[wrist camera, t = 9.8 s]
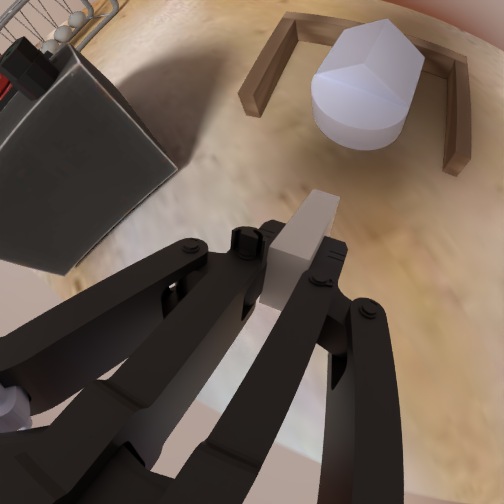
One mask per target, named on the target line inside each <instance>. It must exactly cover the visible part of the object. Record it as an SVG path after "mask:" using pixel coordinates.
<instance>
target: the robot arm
mask: <svg viewBox="0 0 504 504" xmlns="http://www.w3.org/2000/svg"><path fill="white" fill-rule="evenodd" d="M339 200H340V197H339V196H336V195H333V194H329V193H326V192H323V191H320V190H316V189H313V190H312V191H311V193H310V194H309V195H308V197H307V198H306V199H305V201H304V202H303V203H302V204H301V206H300V207H299V208H298V210H297V211H296V212H295V214H294V215H293V216H292V218H291V219H290V220H289V221H288V223H287V224H285V223H282V222H279V221H276V220H270V221H267V222H265V223H264V224H263V225H262V226H261V227H260V228H259V229H257V228H254V227H246V226H242V227H238V228H235V229H233V230H232V237H231V247H230V250H229V251H228V252H227V253H216V252H208V245H207V244H206V243H205V242H204V241H202V240H200V239H196V238H185V239H182V240H179V241H177V242H175V243H173V244H171V245H169V246H167V247H165V248H163V249H161V250H159V251H157V252H155V253H154V254H152V255H150V256H148V257H146V258H144V259H142V260H140V261H138V262H136V263H134V264H132V265H130V266H129V267H127V268H125V269H123V270H121V271H119V272H117V273H115V274H113V275H112V276H110V277H108V278H106V279H104V280H102V281H100V282H99V283H97V284H95V285H93V286H91V287H89V288H88V289H86V290H84V291H82V292H80V293H78V294H77V295H75V296H73V297H71V298H69V299H68V300H66V301H64V302H62V303H61V304H59V305H57V306H55V307H54V308H52V309H50V310H48V311H47V312H45V313H43V314H42V315H40V316H38V317H36V318H34V319H33V320H31V321H29V322H28V323H26V324H24V325H22V326H21V327H19V328H17V329H16V330H14V331H12V332H11V333H9V334H8V335H6V336H4V337H0V504H242V503H243V501H244V499H245V498H246V496H247V494H248V492H249V490H250V488H251V487H252V485H253V483H254V481H255V479H256V477H257V475H258V472H259V471H260V469H261V466H262V464H263V462H264V460H265V458H266V456H267V454H268V452H269V450H270V448H271V446H272V444H273V442H274V440H275V438H276V436H277V434H278V431H279V429H280V427H281V425H282V423H283V421H284V419H285V416H286V414H287V412H288V410H289V407H290V405H291V403H292V401H293V398H294V396H295V394H296V391H297V389H298V387H299V384H300V382H301V380H302V377H303V375H304V372H305V370H306V367H307V365H308V363H309V360H310V358H311V355H312V352H313V350H314V347H315V345H316V343H317V344H318V345H320V346H321V347H323V348H324V349H326V350H327V351H328V352H329V353H328V371H327V396H326V414H325V429H324V442H323V454H322V465H321V475H320V484H319V492H318V501H317V504H404V469H403V445H402V430H401V417H400V406H399V397H398V388H397V380H396V372H395V365H394V358H393V352H392V346H391V339H390V334H389V328H388V323H387V317H386V313H385V311H384V308H383V307H382V306H381V305H380V304H379V303H377V302H376V301H374V300H372V299H369V298H357V299H354V300H353V301H352V300H350V299H348V298H347V297H346V296H344V295H343V294H342V292H341V291H340V289H339V288H338V279H339V276H340V273H341V270H342V267H343V264H344V261H345V258H346V254H347V251H348V248H347V246H346V243H345V242H342V241H339V240H336V239H333V238H330V233H331V230H332V226H333V222H334V219H335V215H336V212H337V208H338V204H339ZM173 283H175V286H174V287H172V288H169V286H170V285H172V284H173ZM260 294H261V295H260ZM259 295H260V301H259V303H262V304H264V305H267V306H270V307H272V308H275V309H278V310H280V311H282V312H281V314H280V316H279V318H278V320H277V321H276V323H275V325H274V327H273V329H272V330H271V332H270V334H269V336H268V338H267V339H266V341H265V343H264V345H263V346H262V348H261V350H260V352H259V353H258V355H257V357H256V359H255V360H254V362H253V364H252V366H251V367H250V369H249V371H248V372H247V374H246V376H245V378H244V379H243V381H242V383H241V384H240V386H239V388H238V389H237V391H236V393H235V394H234V396H233V398H232V399H231V401H230V403H229V404H228V406H227V408H226V409H225V411H224V412H223V414H222V416H221V417H220V419H219V421H218V422H217V424H216V425H215V427H214V429H213V430H212V432H211V433H210V435H209V436H208V438H207V439H206V440H205V441H203V442H201V443H200V444H199V445H198V446H197V447H196V448H195V450H194V451H193V453H192V454H191V455H190V457H189V458H188V460H187V461H186V463H185V465H184V466H183V467H182V469H181V470H180V472H179V473H178V475H177V476H176V478H175V479H173V478H170V477H167V476H164V475H160V474H157V473H154V472H151V471H150V470H151V469H152V467H153V466H154V465H155V463H156V461H157V460H158V458H159V456H160V454H161V451H162V447H163V445H164V443H165V441H166V439H167V438H168V437H169V435H170V434H171V432H172V431H173V429H174V428H175V427H176V425H177V424H178V422H179V421H180V420H181V418H182V417H183V415H184V414H185V412H186V411H187V410H188V408H189V407H190V405H191V404H192V402H193V401H194V400H195V398H196V397H197V395H198V394H199V392H200V391H201V389H202V388H203V386H204V385H205V383H206V382H207V381H208V379H209V378H210V376H211V375H212V373H213V372H214V370H215V369H216V367H217V366H218V364H219V363H220V361H221V360H222V358H223V357H224V355H225V354H226V352H227V351H228V349H229V348H230V346H231V345H232V343H233V342H234V340H235V339H236V337H237V336H238V334H239V333H240V331H241V330H242V328H243V327H244V325H245V323H246V322H247V320H248V319H249V317H250V316H251V314H252V313H253V311H254V309H255V304H256V300H257V298H258V297H259ZM128 357H129V358H128ZM127 358H128V359H127ZM125 359H127V360H126V361H125V362H124V363H123V364H122V365H121V366H120V368H119V369H118V370H117V371H116V372H115V373H114V374H113V375H112V376H111V377H110V378H109V379H107V380H96V379H98V378H99V377H100V376H102V375H103V374H104V373H106V372H108V371H109V370H111V369H112V368H114V367H115V366H117V365H118V364H120V363H121V362H122V361H124V360H125ZM81 389H83V390H82V391H81V392H80V393H79V394H78V395H77V396H76V397H75V398H74V399H73V400H72V402H71V403H70V404H69V405H68V406H67V407H66V408H65V409H64V410H63V411H62V413H61V414H60V415H59V416H58V417H57V418H56V419H55V420H54V421H53V422H52V423H51V425H48V426H43V427H38V428H31V426H32V419H31V417H30V416H33V415H36V414H40V413H42V412H44V411H47V410H49V409H51V408H53V407H55V406H57V405H58V404H60V403H62V402H63V401H65V400H66V399H68V398H69V397H71V396H72V395H74V394H75V393H77V392H78V391H80V390H81ZM30 428H31V429H30ZM19 429H21V430H19ZM17 430H18V431H17Z"/></svg>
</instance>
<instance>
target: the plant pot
mask: <svg viewBox="0 0 504 504" xmlns="http://www.w3.org/2000/svg"><path fill="white" fill-rule="evenodd" d="M0 55H1V54H0ZM1 56H2V55H1ZM1 56H0V58H1ZM12 86H13V85H11V84H10V81H9V80H8V79H7V78H6V77H5V76H3V75H2V74H1V73H0V100H1V99H2V98H3V97H4V95H5V94H6V93H7V92H8V91H9V90H10V88H11V87H12Z"/></svg>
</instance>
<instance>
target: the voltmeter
mask: <svg viewBox="0 0 504 504" xmlns="http://www.w3.org/2000/svg"><path fill="white" fill-rule="evenodd" d="M0 73H1V74H2V75H3V76H5V77H6V78H7V79H8V80H9V81H10V84H11V85H13V86H12V87H11V88H10V90H9V91H8V92H7V93H6V94H5V95H4V97H3V98H2V99H1V100H0V260H3V261H7V262H10V263H14V264H18V265H21V266H25V267H28V268H32V269H36V270H40V271H44V272H48V273H52V274H56V275H60V276H64V277H65V276H66V274H67V273H68V272H69V271H70V270H71V269H72V268H73V267H74V266H75V265H76V264H77V263H78V262H79V261H80V260H81V259H82V258H83V257H84V255H85V254H86V253H87V252H88V251H89V250H90V249H91V248H92V247H93V246H94V245H95V244H96V243H97V242H98V241H99V240H100V239H101V238H102V237H103V236H104V235H105V234H107V233H108V232H109V231H110V230H111V229H112V228H113V227H114V226H115V225H116V224H117V223H118V222H119V221H120V220H121V219H122V218H123V217H124V216H125V215H127V214H128V213H129V212H130V211H131V210H132V209H133V208H134V207H135V206H136V205H137V204H139V203H140V202H141V201H142V200H143V199H144V198H145V197H146V196H148V195H149V194H150V193H151V192H152V191H153V190H154V189H156V188H157V187H158V186H159V185H160V184H161V183H163V182H164V181H165V180H166V179H167V178H168V177H170V176H171V175H172V174H173V173H174V172H176V171H177V170H178V168H177V167H176V165H175V164H174V163H173V161H172V160H171V159H170V158H169V156H168V155H167V154H166V152H165V151H164V150H163V148H162V147H161V146H160V144H159V143H158V142H157V140H156V139H155V138H154V137H153V135H152V134H151V133H150V131H149V130H148V129H147V127H146V126H145V125H144V123H143V122H142V121H141V119H140V118H139V117H138V116H137V114H136V113H135V112H134V110H133V109H132V108H131V106H130V105H129V104H128V102H127V101H126V100H125V98H124V97H123V96H122V94H121V93H120V92H119V91H118V90H117V89H116V87H115V86H114V85H113V84H112V83H111V82H110V81H109V80H108V79H107V78H106V77H105V76H104V75H103V74H102V73H101V72H100V71H99V70H98V69H97V68H96V67H95V66H94V65H92V64H91V63H90V62H89V61H88V60H87V59H86V58H85V57H84V56H83V55H82V54H81V53H80V52H79V51H77V50H76V49H75V48H74V47H73V46H72V45H71V44H70V43H69V42H67V43H66V44H65V45H64V46H63V47H62V48H61V49H60V50H58V51H57V52H56V53H55V54H52V53H51V52H50V51H48V50H47V51H46V52H45V53H44V54H43V53H42V52H41V51H40V50H38V49H37V48H36V47H35V46H34V45H32V44H31V42H29V40H28V39H27V38H25V37H24V36H23V37H21V38H19V39H17V40H16V41H15V42H14V43H13V44H12V45H11V46H10V47H9V48H8V49H7V50H6V51H5V53H4V54H3V55H2V56H1V58H0Z"/></svg>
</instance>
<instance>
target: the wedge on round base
mask: <svg viewBox="0 0 504 504" xmlns="http://www.w3.org/2000/svg"><path fill="white" fill-rule="evenodd" d="M424 59H425V57H424V56H423V55H422V54H421V53H420V52H419V50H418V49H417V48H416V47H415V46H414V45H413V44H412V43H411V42H410V41H409V40H408V39H407V37H406V36H405V35H404V34H403V33H402V32H401V31H400V30H399V29H398V28H397V27H396V26H395V25H394V24H393V23H392V22H391V21H390V20H389V19H382V20H378V21H374V22H370V23H366V24H363V25H359V26H355V27H352V28H348V29H345V30H344V31H343V32H342V34H341V35H340V37H339V38H338V40H337V41H336V43H335V44H334V46H333V47H332V49H331V50H330V52H329V53H328V55H327V56H326V58H325V60H324V61H323V63H322V64H321V66H320V67H319V69H318V70H317V72H316V74H315V75H314V77H313V79H312V83H311V94H312V107H313V116H314V120H315V122H316V124H317V126H318V127H319V129H320V130H321V131H322V132H323V133H324V134H325V135H326V136H327V137H328V138H329V139H331V140H332V141H334V142H336V143H338V144H339V145H342V146H344V147H347V148H351V149H355V150H365V151H366V150H376V149H380V148H383V147H386V146H388V145H390V144H391V143H392V142H394V141H395V140H396V139H397V138H398V136H399V135H400V133H401V131H402V128H403V125H404V122H405V120H406V117H407V114H408V111H409V108H410V105H411V102H412V99H413V96H414V93H415V89H416V86H417V83H418V80H419V76H420V73H421V70H422V66H423V63H424Z"/></svg>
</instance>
